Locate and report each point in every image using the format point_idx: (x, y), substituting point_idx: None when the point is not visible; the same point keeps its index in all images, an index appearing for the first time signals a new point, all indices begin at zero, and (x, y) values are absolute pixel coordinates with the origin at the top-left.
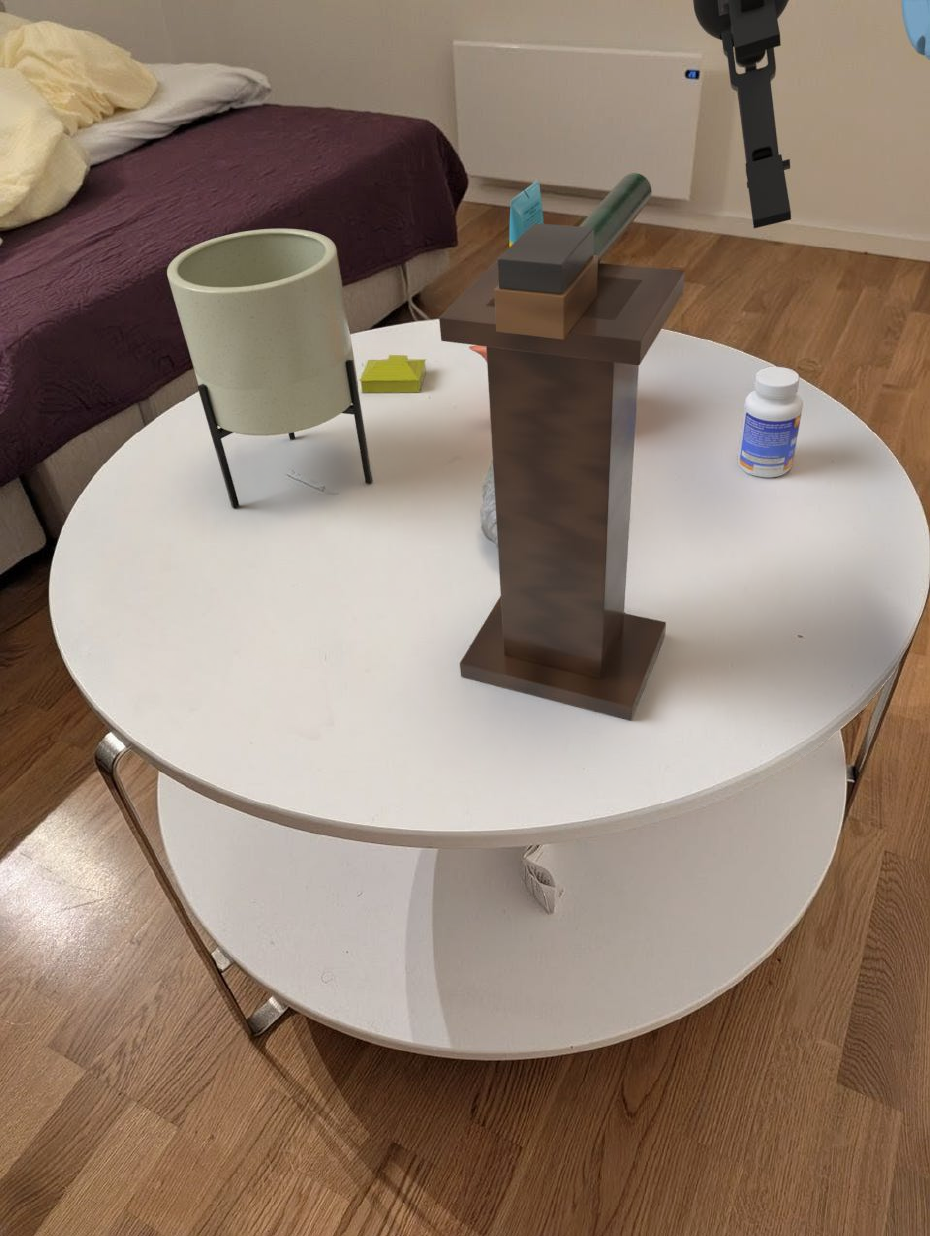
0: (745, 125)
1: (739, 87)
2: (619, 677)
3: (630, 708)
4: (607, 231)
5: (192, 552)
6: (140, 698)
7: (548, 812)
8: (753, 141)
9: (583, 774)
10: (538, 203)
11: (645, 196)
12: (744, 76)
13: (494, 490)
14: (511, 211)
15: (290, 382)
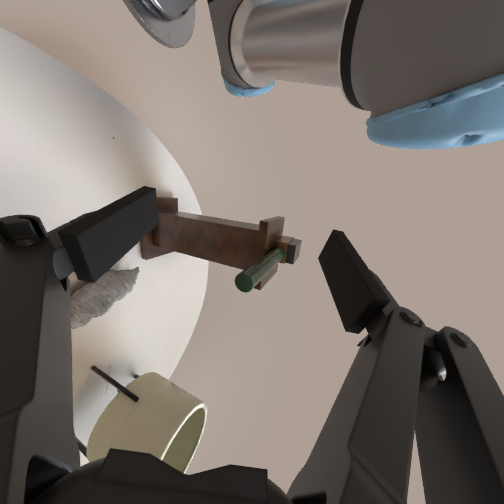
0: (68, 338)
1: (71, 427)
2: (169, 205)
3: (177, 198)
4: (275, 255)
5: (160, 353)
6: (199, 303)
7: (198, 208)
8: (64, 303)
9: (189, 204)
10: None
11: (252, 269)
12: (67, 452)
13: (124, 295)
14: None
15: (168, 382)
